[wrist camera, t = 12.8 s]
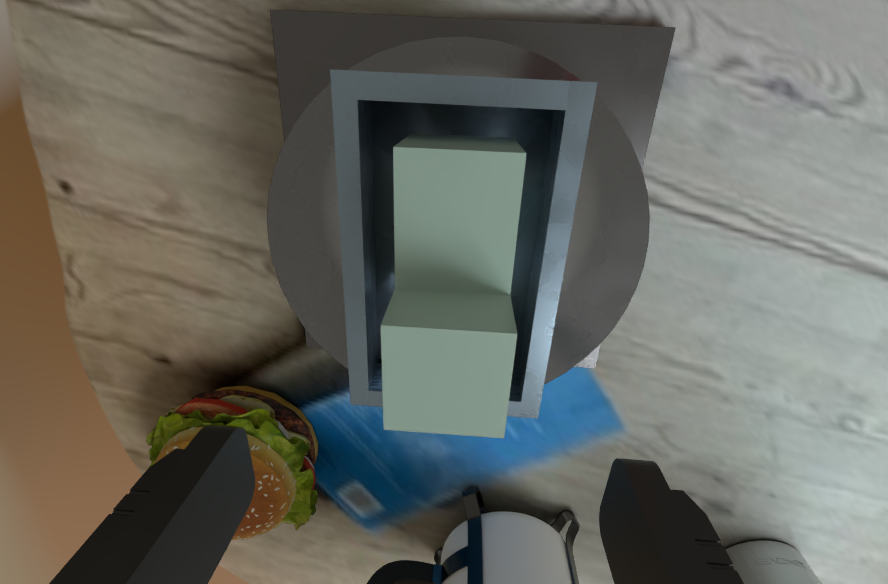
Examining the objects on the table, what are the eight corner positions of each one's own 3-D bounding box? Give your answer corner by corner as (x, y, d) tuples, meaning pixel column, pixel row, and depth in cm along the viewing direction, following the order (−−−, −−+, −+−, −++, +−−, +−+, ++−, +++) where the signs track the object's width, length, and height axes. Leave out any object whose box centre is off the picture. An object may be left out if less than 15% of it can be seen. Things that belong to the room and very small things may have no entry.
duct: (591, 360, 33) (639, 468, 24) (311, 340, 34) (249, 437, 25) (667, 29, 24) (796, -9, 14) (277, 12, 25) (155, -35, 15)
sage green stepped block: (513, 137, 19) (538, 167, 12) (494, 331, 24) (504, 438, 16) (411, 133, 19) (375, 159, 12) (410, 325, 24) (383, 429, 17)
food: (190, 481, 42) (132, 562, 35) (172, 363, 36) (97, 432, 29) (329, 502, 42) (300, 588, 35) (335, 389, 36) (301, 464, 29)
